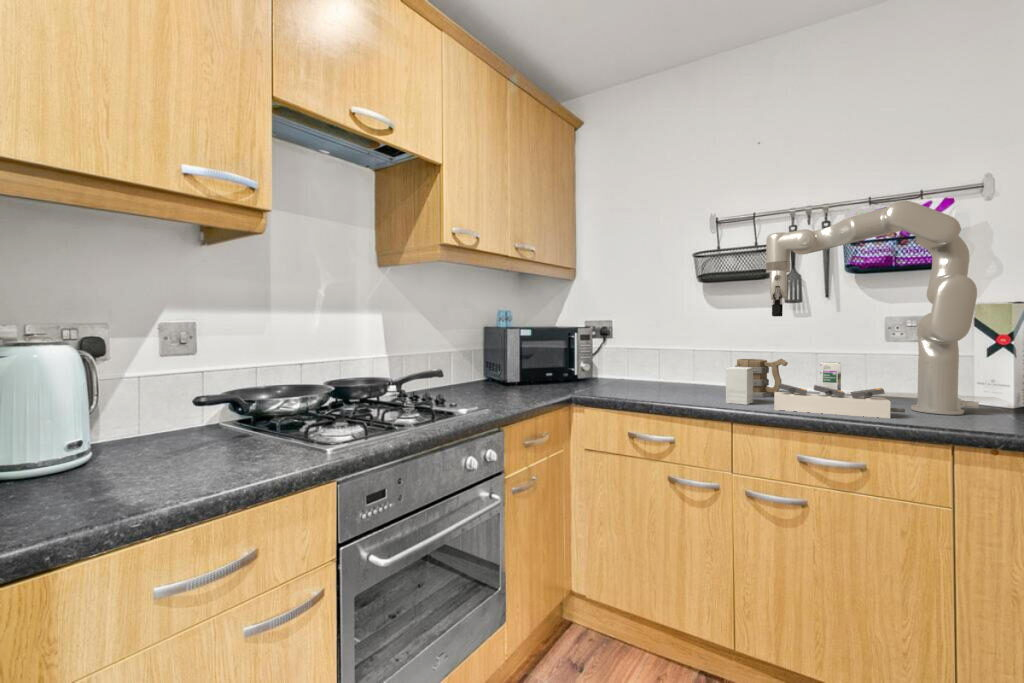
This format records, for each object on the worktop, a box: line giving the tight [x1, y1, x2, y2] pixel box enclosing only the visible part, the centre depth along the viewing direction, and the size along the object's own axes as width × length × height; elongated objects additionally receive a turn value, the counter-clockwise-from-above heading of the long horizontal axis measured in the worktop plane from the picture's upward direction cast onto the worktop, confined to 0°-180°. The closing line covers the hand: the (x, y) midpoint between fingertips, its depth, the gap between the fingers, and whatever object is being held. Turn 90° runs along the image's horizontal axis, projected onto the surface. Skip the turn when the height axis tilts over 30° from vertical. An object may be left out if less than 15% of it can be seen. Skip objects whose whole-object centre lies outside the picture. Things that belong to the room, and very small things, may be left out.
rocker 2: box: [813, 384, 846, 397], centre depth 152 cm, size 8×4×2 cm, turn 61°
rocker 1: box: [778, 382, 808, 395], centre depth 157 cm, size 8×4×2 cm, turn 61°
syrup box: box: [819, 361, 842, 395], centre depth 168 cm, size 6×6×14 cm
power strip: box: [773, 391, 906, 419], centre depth 151 cm, size 34×8×5 cm, turn 61°
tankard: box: [734, 358, 788, 398], centre depth 186 cm, size 20×13×15 cm, turn 30°
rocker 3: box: [850, 387, 886, 398], centre depth 147 cm, size 8×4×2 cm, turn 61°
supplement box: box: [725, 366, 754, 406], centre depth 170 cm, size 7×7×13 cm
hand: (777, 316), depth 171 cm, fingers open, 9 cm apart
